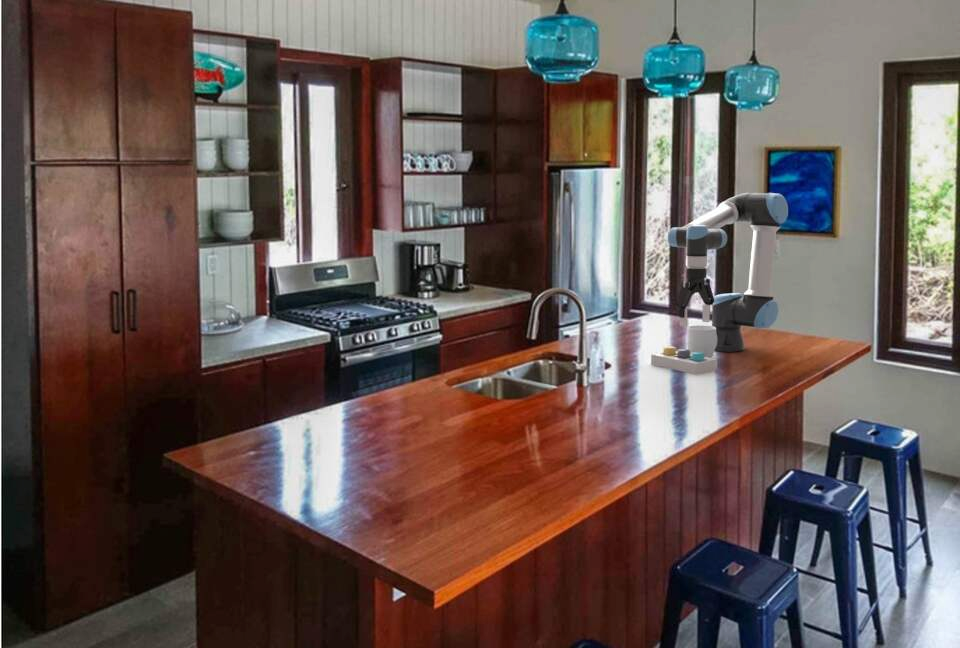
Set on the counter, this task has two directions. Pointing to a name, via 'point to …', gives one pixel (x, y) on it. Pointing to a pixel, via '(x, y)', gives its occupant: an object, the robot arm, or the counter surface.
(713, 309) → the robot arm
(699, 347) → the mug
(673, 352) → the mustard button
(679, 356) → the charcoal button
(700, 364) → the console
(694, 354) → the teal button
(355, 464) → the counter surface
